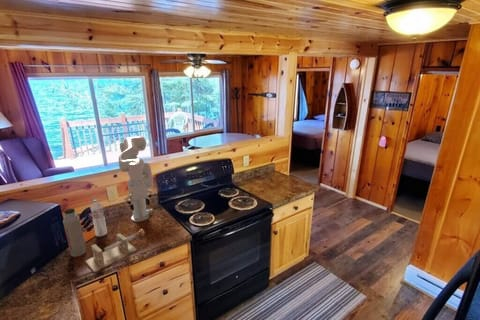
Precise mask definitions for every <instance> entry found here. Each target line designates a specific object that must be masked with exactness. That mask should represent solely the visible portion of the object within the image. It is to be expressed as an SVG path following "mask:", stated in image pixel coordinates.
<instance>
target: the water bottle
mask: <svg viewBox="0 0 480 320" xmlns="http://www.w3.org/2000/svg"><path fill="white" fill-rule="evenodd" d="M90 212H91V217H92V223H93V229H94V233H95V236H96V237H99V238H101V237H104V236H106V235H107V234H108V230H107V223H106V222H107V221H106V217H105V214H104V209H103V204H102V203H101V202H99V201H98V199H93V203H92V204H91V205H90Z"/></svg>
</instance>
